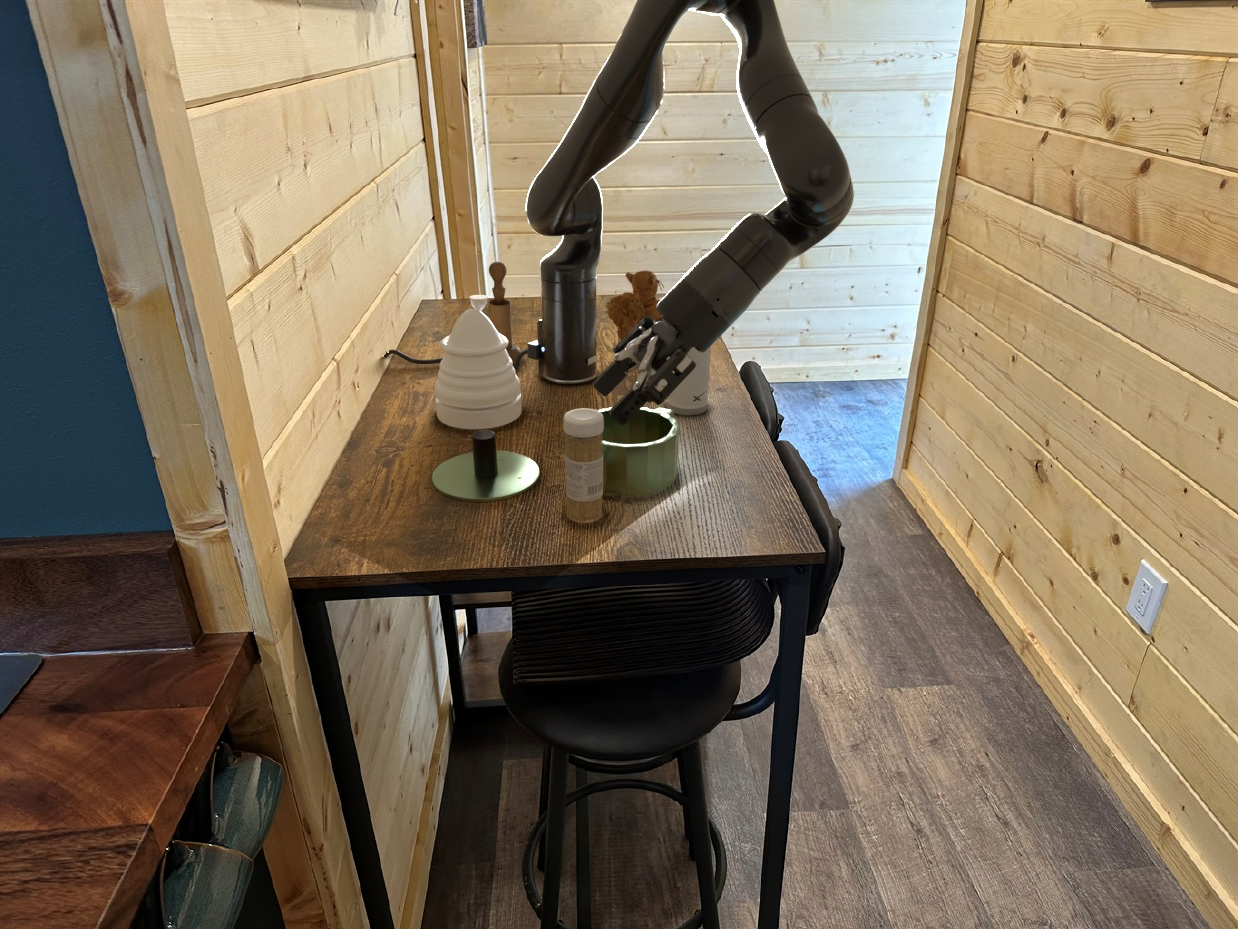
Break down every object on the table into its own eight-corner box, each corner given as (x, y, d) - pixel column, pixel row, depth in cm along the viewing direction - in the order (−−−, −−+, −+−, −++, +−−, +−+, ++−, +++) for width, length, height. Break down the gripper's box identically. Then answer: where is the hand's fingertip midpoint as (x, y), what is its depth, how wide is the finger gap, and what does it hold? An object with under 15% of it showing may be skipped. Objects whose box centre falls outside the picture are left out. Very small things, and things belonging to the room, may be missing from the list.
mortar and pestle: (504, 371, 145) (499, 268, 137) (476, 364, 148) (469, 263, 140) (528, 360, 150) (524, 260, 142) (500, 354, 153) (494, 256, 145)
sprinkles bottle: (593, 505, 102) (593, 404, 96) (609, 522, 99) (610, 418, 93) (559, 512, 100) (557, 410, 94) (574, 530, 97) (572, 425, 91)
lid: (410, 485, 106) (404, 438, 103) (485, 448, 116) (482, 405, 113) (487, 517, 99) (484, 468, 96) (561, 476, 109) (560, 430, 106)
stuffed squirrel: (680, 335, 164) (683, 269, 158) (640, 354, 154) (641, 284, 148) (638, 326, 169) (640, 262, 163) (597, 344, 159) (597, 275, 153)
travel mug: (707, 417, 127) (715, 289, 118) (664, 414, 128) (669, 286, 119) (711, 402, 133) (719, 278, 124) (670, 399, 134) (675, 276, 125)
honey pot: (463, 395, 134) (455, 285, 126) (535, 406, 131) (531, 293, 123) (420, 425, 123) (408, 306, 115) (498, 437, 120) (491, 316, 112)
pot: (545, 488, 106) (543, 436, 103) (627, 441, 119) (628, 393, 116) (626, 519, 99) (627, 463, 96) (704, 465, 112) (707, 415, 109)
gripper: (667, 262, 95) (571, 363, 98) (708, 293, 83) (597, 408, 86) (708, 304, 99) (614, 401, 102) (753, 341, 87) (645, 450, 89)
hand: (606, 404), depth 94 cm, fingers open, 8 cm apart
